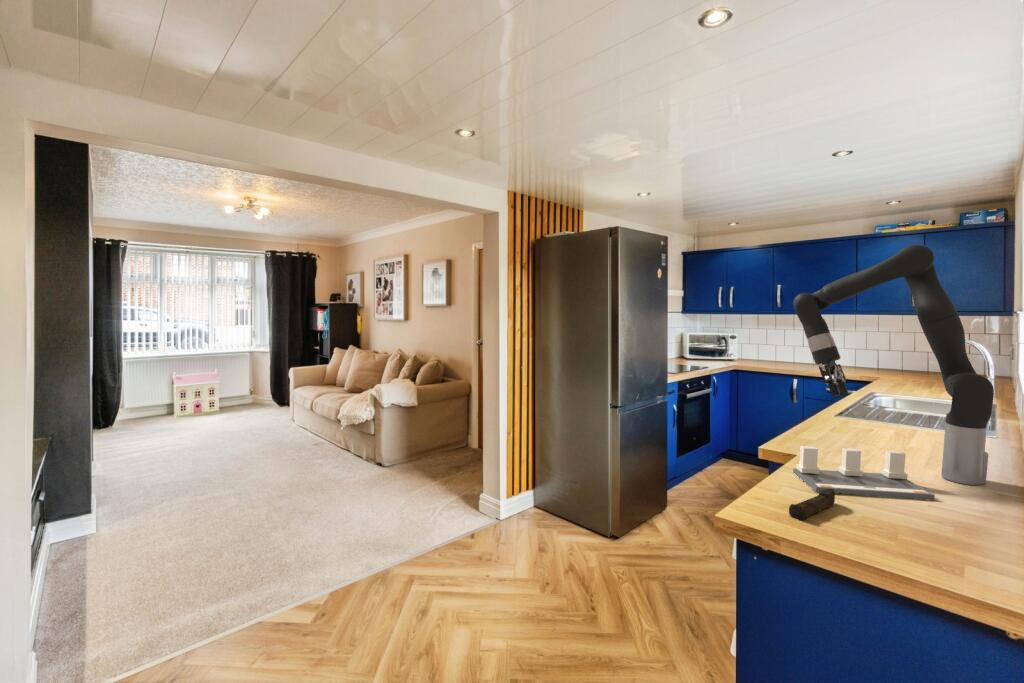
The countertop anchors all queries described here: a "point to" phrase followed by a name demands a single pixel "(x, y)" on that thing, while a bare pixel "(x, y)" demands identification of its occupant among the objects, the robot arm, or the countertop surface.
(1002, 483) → the countertop surface
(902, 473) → the near tab
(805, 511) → the hand tool
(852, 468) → the middle tab
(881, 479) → the switch bank
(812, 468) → the far tab
